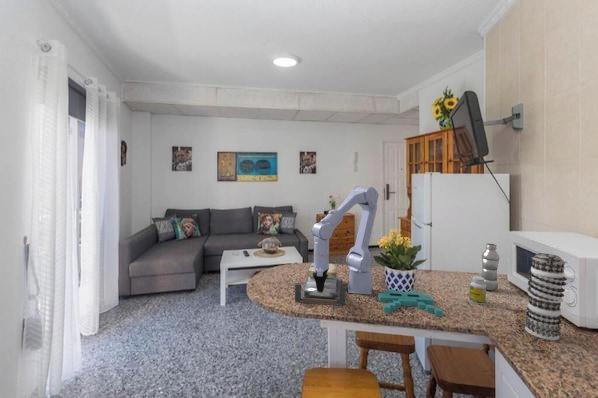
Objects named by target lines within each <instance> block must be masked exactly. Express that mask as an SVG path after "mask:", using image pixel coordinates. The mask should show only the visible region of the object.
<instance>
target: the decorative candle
mask: <svg viewBox="0 0 598 398" xmlns="http://www.w3.org/2000/svg"><path fill="white" fill-rule="evenodd" d="M530 258H531V259H532V260H531V261H532V262H531V264H532V265H531V267H530V269H529V270H527V273H528V274H529V275H528V277H527V279H528V281H527V285H528V287H527V290H528V292H527V295H528V296H529V297H528V302H527V307H526V312H525V315H526V316H525V322H524V323H525V327H524V329H525V331H526V332H527V333H529V334H530V335H532V336H534V337H537V338H540V339H544V340H547V341H557V340H559V339H560V338H561V337H560V335H561V329H562V328H561V325H560V324H562V320H561V319H562V314H561V313H562V309H561V306H562V305H561V304H562V303H563V301H564V297H565V295H564V292H566V289H565V288H563V287H564V286H567V283H566V282H565V281H567V280H568V278H567V277H565V271H564V270H565V264H566V261H564V260H563V259H562V257H560V256H559V255H555V254H552V253H545V252H543V253H542V252H540V253H539V252H538V253H536V254H535V255H534V256H532V257H530Z"/></svg>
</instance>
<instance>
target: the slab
mask: <svg viewBox="0 0 598 398" xmlns="http://www.w3.org/2000/svg"><path fill="white" fill-rule="evenodd" d="M311 264H314V262H311V263H310V267H309V268H308V277H313V273H316V270H315V269H314V267H311ZM327 274H328V276H327V278H338V276H337V275H338V264H337V263H335V264H334V263H329V270H328V271H327Z"/></svg>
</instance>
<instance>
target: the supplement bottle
mask: <svg viewBox="0 0 598 398" xmlns="http://www.w3.org/2000/svg"><path fill="white" fill-rule="evenodd" d="M484 282H485V279H484V278H483V277H481V276H480V275H479V276H478V275H475V276H472V281H471V282H470V284H469V297H468V299H469V302H470V303H473V304H476V305H479V304H480V305H482V304H483V305H485V304H486V297H487V290H486V285H485V284H484ZM480 305H479V306H480Z"/></svg>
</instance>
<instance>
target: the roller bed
mask: <svg viewBox="0 0 598 398" xmlns="http://www.w3.org/2000/svg"><path fill="white" fill-rule="evenodd" d="M294 287H295V289H294V302H298V303H303V304H304V303H305V304H317V305H331V306H346V285H345V286H344V285H342V278H338V277H337V278H326V280H325V284H324V288H325V289H336V300H331V299H319V298H306V297H304V291H305V287H312V288H317V287H316V282H315V279H314V277H308V276H306V278H305V280H304V284H303V287H302V283H301V282H296V283H295V285H294Z"/></svg>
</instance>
